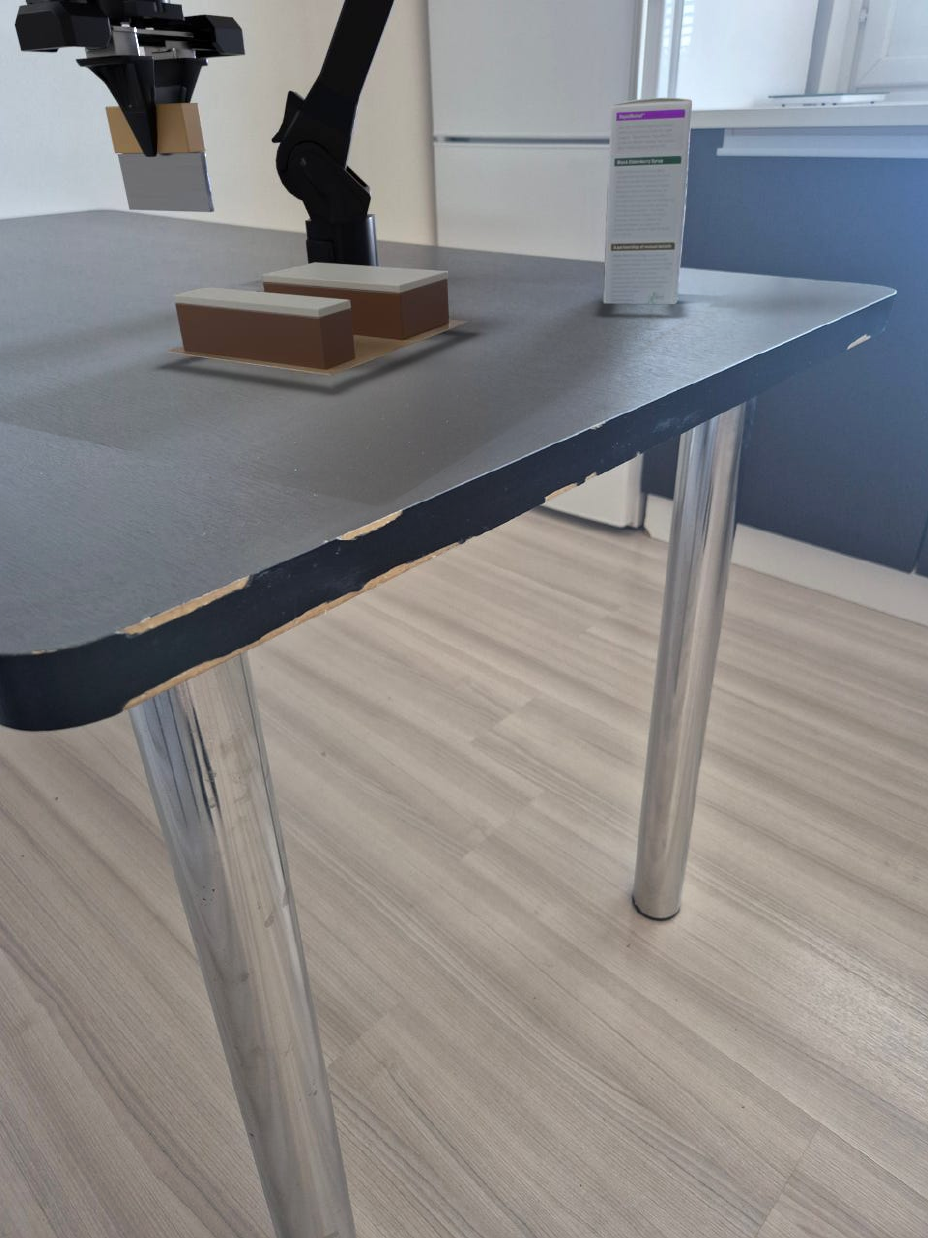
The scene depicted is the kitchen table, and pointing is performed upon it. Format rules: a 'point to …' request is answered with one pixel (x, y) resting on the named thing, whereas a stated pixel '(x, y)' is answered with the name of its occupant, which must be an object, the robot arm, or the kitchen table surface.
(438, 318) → the cake
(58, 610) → the kitchen table surface
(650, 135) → the syrup box
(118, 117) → the scraper
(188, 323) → the cake slice
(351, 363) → the cake board
